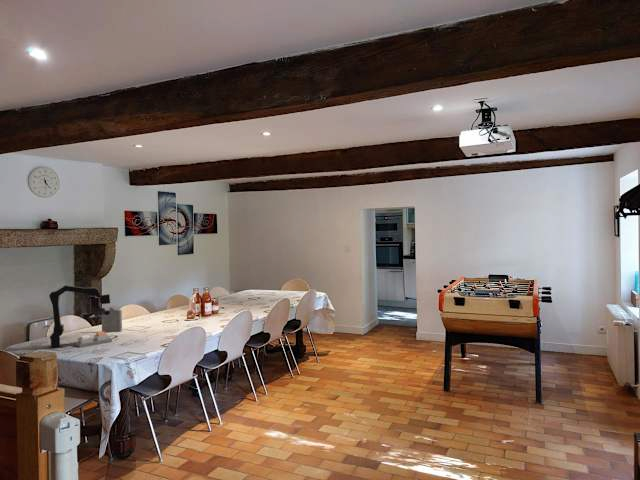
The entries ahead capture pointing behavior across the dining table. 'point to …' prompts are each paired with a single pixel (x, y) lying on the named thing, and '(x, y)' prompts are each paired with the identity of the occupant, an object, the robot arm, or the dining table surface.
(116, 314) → the hip flask
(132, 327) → the dining table surface
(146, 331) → the dining table surface
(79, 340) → the key panel
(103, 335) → the key terracotta
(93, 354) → the dining table surface
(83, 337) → the key ivory
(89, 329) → the dining table surface
